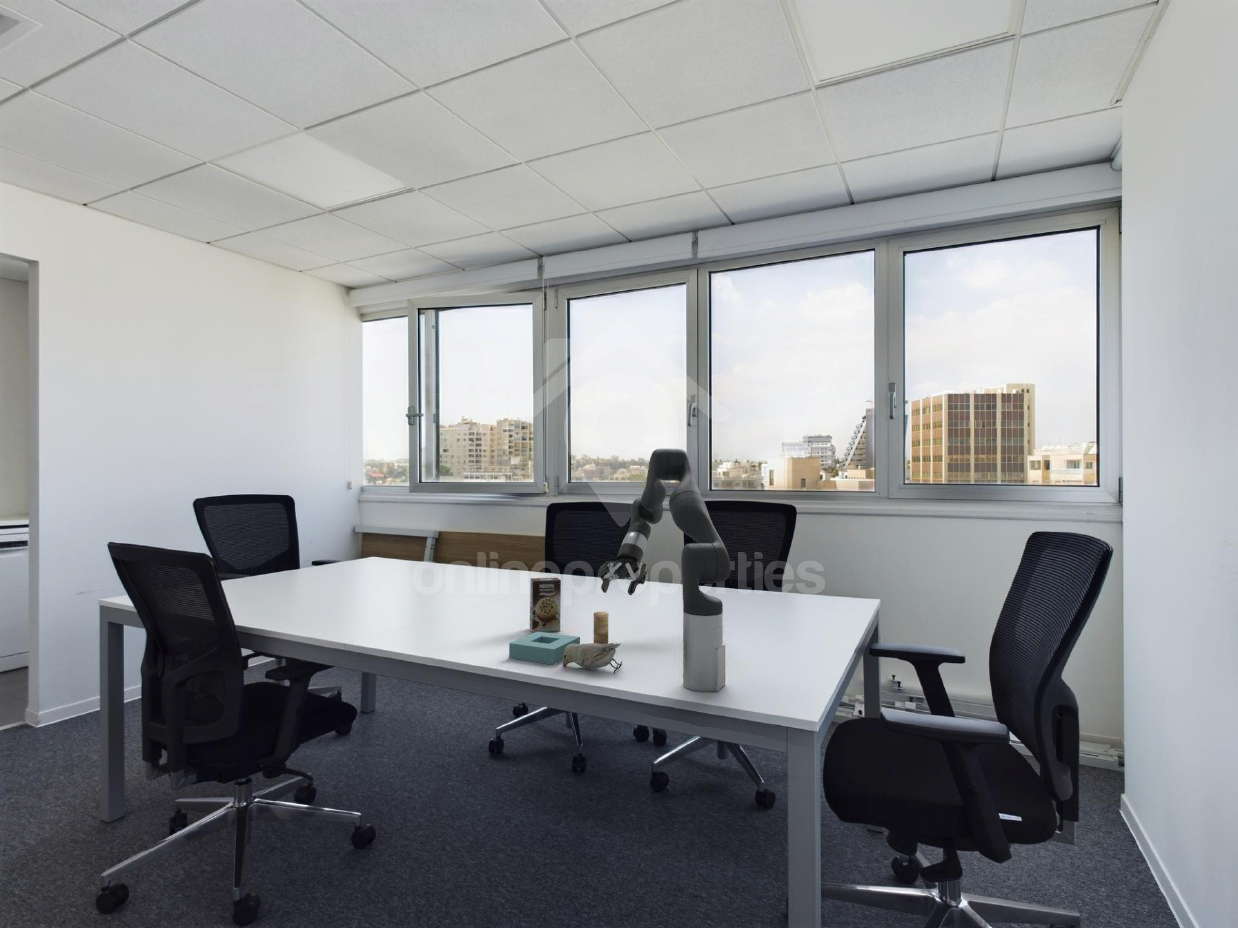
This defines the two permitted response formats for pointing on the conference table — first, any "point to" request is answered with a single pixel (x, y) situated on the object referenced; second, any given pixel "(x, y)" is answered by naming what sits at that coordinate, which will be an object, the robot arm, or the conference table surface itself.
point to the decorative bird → (590, 655)
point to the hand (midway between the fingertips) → (616, 592)
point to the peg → (601, 627)
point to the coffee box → (545, 604)
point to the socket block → (541, 647)
